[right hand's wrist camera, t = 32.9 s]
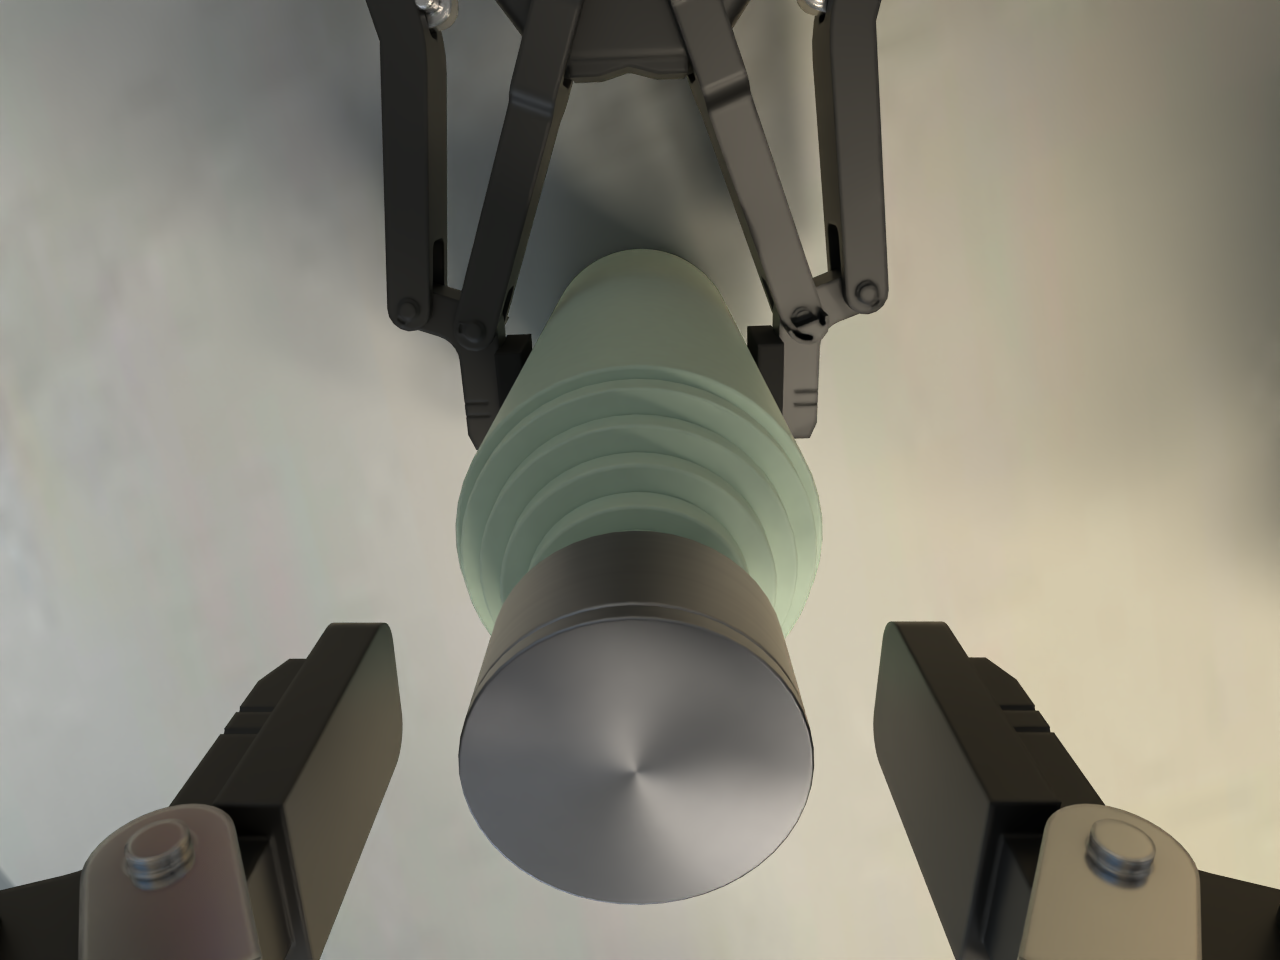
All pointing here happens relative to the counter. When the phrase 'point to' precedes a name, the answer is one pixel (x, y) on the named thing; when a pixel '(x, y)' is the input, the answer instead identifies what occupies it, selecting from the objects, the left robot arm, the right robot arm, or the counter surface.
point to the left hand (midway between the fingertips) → (646, 532)
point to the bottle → (640, 440)
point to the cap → (636, 723)
